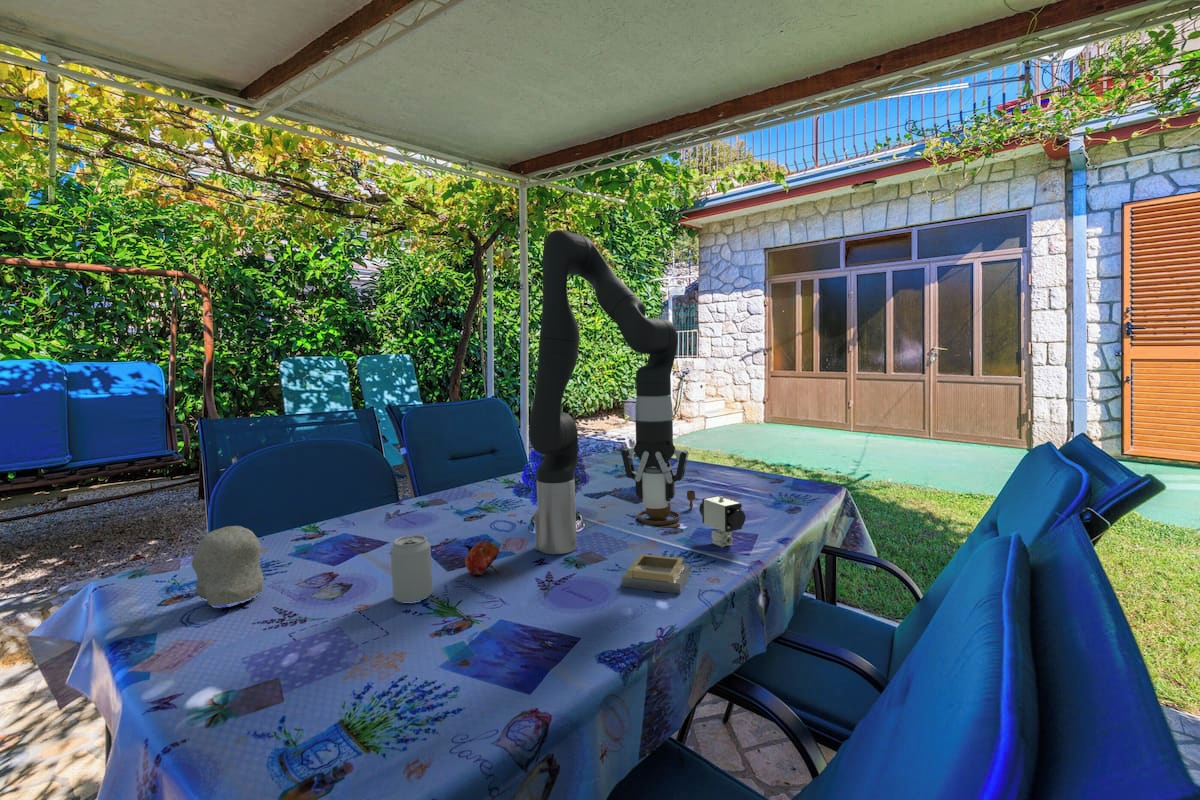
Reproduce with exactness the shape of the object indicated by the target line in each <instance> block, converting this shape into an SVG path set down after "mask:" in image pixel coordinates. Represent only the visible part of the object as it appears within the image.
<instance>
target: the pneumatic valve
mask: <svg viewBox="0 0 1200 800" xmlns="http://www.w3.org/2000/svg"><path fill="white" fill-rule="evenodd" d="M701 501H702V502H701V503H700V505H699V509H698V511H699V514H700V516H702V517H701V519H702V523H703V524H704V525H707V526H709V527H712V528H713V530H712V531H711V535H710V536H711V539H712V540H711V544H712V545H714V546H716V547H717V546H718V547H720V548H722V549H723V548H724V547H727V546H732V545H733V537H732V535H733V533H732V532H734V531H740V530H742V529H743V526H744V524H745V522H746V513H745V512H744V511H743V507H742V503H741V502H737V501H735V500H731V499H730V498H725V497H724V496H721V495H720V496H718V495H714V496H709V497H704V498H702V499H701ZM714 529H716V530H714Z"/></svg>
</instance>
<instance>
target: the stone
mask: <svg viewBox="0 0 1200 800" xmlns="http://www.w3.org/2000/svg"><path fill="white" fill-rule="evenodd" d="M261 552H262V546H261V543H260V541H259V539H258V537H257V536H256V535H255V533H254V532H253V530H250V529H249V528H246V527H243V526H241V525H233V526H232V525H229V526H224V527H221V528H218V529H214V530H212V531H210V532H209V533H207V534H205V535H204V536H203V538H201V541H200V542H199V545H198V546H197V548H196V550H195V552H194V554H193V558H192V560H191V567H192V569H193V571H194V572H195V574H196V579H197V580H196V581H197V582H196V586H195V591H196V594H197V595H198V596H199V597H200V598H201V599H202V598H204V599H207V601H208V602H207V601H206V602H207V603H208V605H209V606H210V605H213V606H216V605H223V604H230V603H234V602H240V601H244V600H246V599H249V598H251V597H253V596H255V595H256V594H257V593H259V592H261V591H263V588H264V580H265V579H264V574H263V571H262V569H261V564H260V562H261ZM261 593H262V592H261Z"/></svg>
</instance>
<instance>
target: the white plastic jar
mask: <svg viewBox="0 0 1200 800" xmlns="http://www.w3.org/2000/svg"><path fill="white" fill-rule="evenodd" d="M666 483H667V480H666V478H665V475H664V473H663V472H662V470H661V468H657V467H645V471H644V472H643V473H642V494H643V499H642V507H643V508H645V509H646V508H651V509H660V508H665V507H667V506H668V503H669V501H666Z"/></svg>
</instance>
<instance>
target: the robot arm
mask: <svg viewBox="0 0 1200 800" xmlns="http://www.w3.org/2000/svg"><path fill="white" fill-rule="evenodd" d="M568 275H572V276H579V277H581V278H583V279H584V280H586V281H587V282H588V283H589V284H590V285H592V287H593V289H594V291H595V292H594V293H595V296H596V300H597V303H598V304H599V306H600V308H601V309H602V310H603V311H604V312H605V314H607V316H608V317H609V318H610V319H611V320H613V322H614V323H615V324H617V327H618V330H619V331H620V333H621V335H622V338H623V340H624V342H625V343H626V345H627V346H628V347H629V348H630V349H631V350H633V351H634V352H636V353H638V354H642V355H648V354H649V355H648V359H647V362H646V364H645V365H643V366H641V367H639V368H637V370H636V371H635V382H636V383H635V393H636V394H635V395H636V397H635V406H634V407H635V408H634V410H635V415H634V417H635V445H634V447H631V448H629V447H626V448H624V449H623V450H621V452H620V453H621V459H622V462H623V463H622V464H623V466H624V471H625V475H626V477H627V478H628V479H631V480H633V481H635V495H636V497H638V499H639V500H643V494H642V473H643V472H644V471H645V467H657V468H661V470H662V472H663V473H664V475H665V478H666V480H667V483H666V501H668V502H671V501H672V499H673V498H675V495H676V494H675V492H676V491H675V489H676V487H675V486H676V485H675V484H676V482H681V480H682V479H683V478H684V477H685V473H686V468H687V463H688V459H689V453H690V452H689V450H687V449H685V450H681V449H677V448H676V446H675V445H674V436H673V435H674V430H673V429H674V427H673V426H674V425H673V424H674V423H673V421H674V420H673V418H674V411H673V402H672V384H671V383H672V381H671V378H672V377H671V374H672V370H673V367H674V362H675V357H676V354H677V349H678V343H679V342H678V341H679V340H678V339H679V338H678V332H677V328H676V326H675V325H674V323H673V322H672V321H671V320H669V319H666V318H649V317H646V306H645V304H644V302H643V300H641V299H640V298H639V297H638V295H636V294H635V293H634V292H633V291H632V289H630V288H629V287H628V286H627V285H626V284H625V283H623V281H622V280H621V279H620V278H619V277H618V276H617V275H616V274H615V272H614V271H613V269H612V268H611V267H610V265H609V264H608V263H607V261H606V259H604V257H603V255H602V254H601V253H600V251H599V250H598V248H597V246H596V245H595V243H593V242H592V240H591V239H590V238H589V237H587V236H585V235H583V234H579V233H574V232H570V231H566V230H561V229H555V230H552V231H551V232H550V233H549V234H548V235H547V236H546V239H545V241H544V244H543V250H542V307H541V320H540V321H541V323H540V331H539V332H540V333H539V341H538V353H537V354H538V355H537V357H538V362H537V369H536V379H535V390H534V398H533V403H532V407H531V414H530V419H529V424H528V440H529V443H530V445H531V447H532V448H533V449H534V451H536V452H537V453H539V454H541V455H544V457H543V460H542V462H541V463H540V464H539V466H537V469H536V470H535V471H536V475H535V478H536V496H537V497H536V498H537V501H536V502H537V510H535V511H534V531H535V532H534V536H535V537H534V538H535V541H534V543H535V551H539V552H541V553H543V554H547V555H563V554H568V553H571V552H574V551H575V550H576V549H577V543H578V541H577V514H576V509H577V508H576V482H575V481H576V480H575V478H576V477H575V472H576V470H577V465H578V459H579V457H578V453H579V444H578V442H579V439H578V438H579V435H578V434H579V433H578V428H577V424H576V422H575V420H574V418H573V417H572V416H571V415H570V414H568V413H566V412H561V411H562V403H563V397H564V395H565V390H566V389H567V386H568V383H569V381H570V380H571V377H572V375H573V374H574V371H575V368H576V365H577V361H578V356H579V347H580V329H579V325H578V322H577V319H576V317H575V314H574V312H573V310H572V307H571V304H570V302H569V301H570V300H569V297H568ZM634 454H635V455H636V457H637V458H638V460H639V461H640V462H639V464H638V468H637V472H636V469H635V465H634V461H633V458H634V457H635V455H634ZM674 455H675V460H676V461H678V464H677V468H676V473H675V472H674V471H673V466H672V464H671V462H670V460H671V459H672V458H673V456H674ZM674 473H675V474H674Z"/></svg>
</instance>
